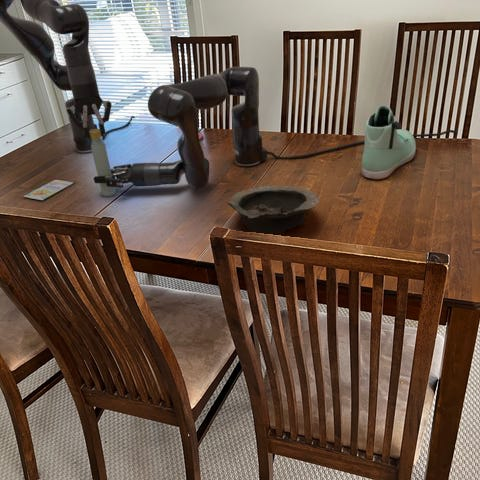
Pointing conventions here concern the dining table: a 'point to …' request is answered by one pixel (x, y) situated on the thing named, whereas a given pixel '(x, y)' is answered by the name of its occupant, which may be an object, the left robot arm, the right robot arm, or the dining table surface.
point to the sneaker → (385, 145)
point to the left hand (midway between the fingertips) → (95, 136)
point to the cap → (95, 133)
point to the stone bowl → (273, 207)
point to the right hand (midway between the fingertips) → (97, 176)
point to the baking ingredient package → (48, 189)
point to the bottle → (102, 164)
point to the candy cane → (200, 136)
